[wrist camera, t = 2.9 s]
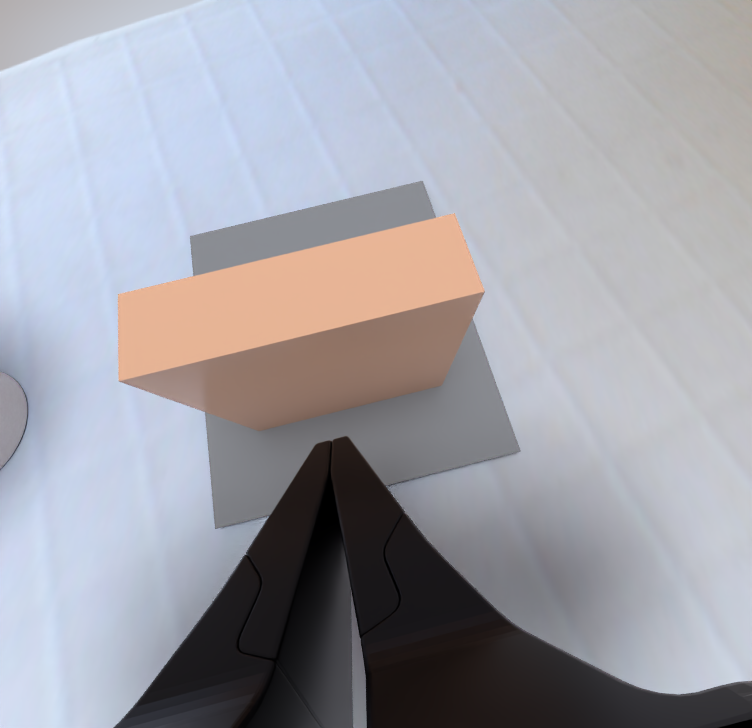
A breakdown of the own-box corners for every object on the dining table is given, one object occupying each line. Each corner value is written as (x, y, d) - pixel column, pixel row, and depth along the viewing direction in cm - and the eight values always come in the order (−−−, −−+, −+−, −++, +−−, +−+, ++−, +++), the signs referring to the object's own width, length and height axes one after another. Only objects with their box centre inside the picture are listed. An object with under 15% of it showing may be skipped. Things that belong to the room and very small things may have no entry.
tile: (441, 385, 17) (484, 291, 9) (259, 431, 17) (118, 381, 8) (427, 338, 18) (452, 208, 9) (252, 381, 18) (118, 289, 9)
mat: (517, 452, 17) (520, 451, 16) (220, 527, 16) (215, 528, 16) (422, 187, 22) (422, 180, 21) (194, 241, 21) (190, 236, 21)
